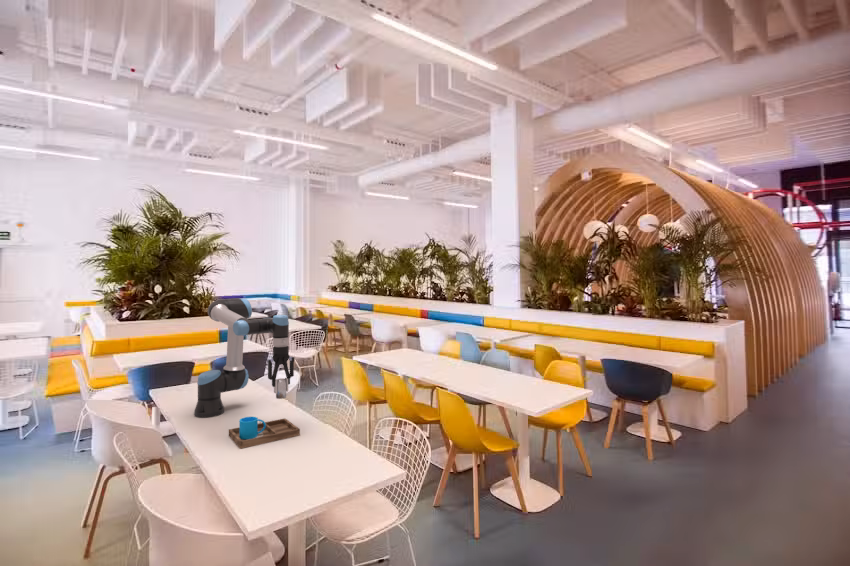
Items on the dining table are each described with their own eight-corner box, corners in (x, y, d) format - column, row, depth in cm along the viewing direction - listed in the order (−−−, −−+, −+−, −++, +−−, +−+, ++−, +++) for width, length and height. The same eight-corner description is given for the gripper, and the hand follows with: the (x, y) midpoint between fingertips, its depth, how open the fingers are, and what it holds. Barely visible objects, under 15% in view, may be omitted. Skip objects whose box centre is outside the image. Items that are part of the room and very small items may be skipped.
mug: (240, 440, 205) (240, 423, 205) (238, 435, 212) (238, 418, 212) (267, 436, 211) (267, 419, 211) (264, 430, 218) (264, 414, 218)
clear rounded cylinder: (274, 397, 222) (274, 379, 222) (284, 395, 225) (284, 378, 225) (277, 399, 218) (277, 381, 218) (287, 397, 221) (287, 379, 221)
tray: (228, 435, 215) (228, 429, 215) (285, 423, 232) (285, 418, 232) (240, 448, 199) (240, 442, 199) (299, 435, 216) (299, 429, 216)
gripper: (265, 348, 213) (265, 396, 213) (300, 345, 224) (301, 390, 224) (260, 346, 219) (260, 393, 219) (295, 343, 230) (295, 387, 230)
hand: (281, 391), depth 222 cm, fingers closed on clear rounded cylinder, 5 cm apart
